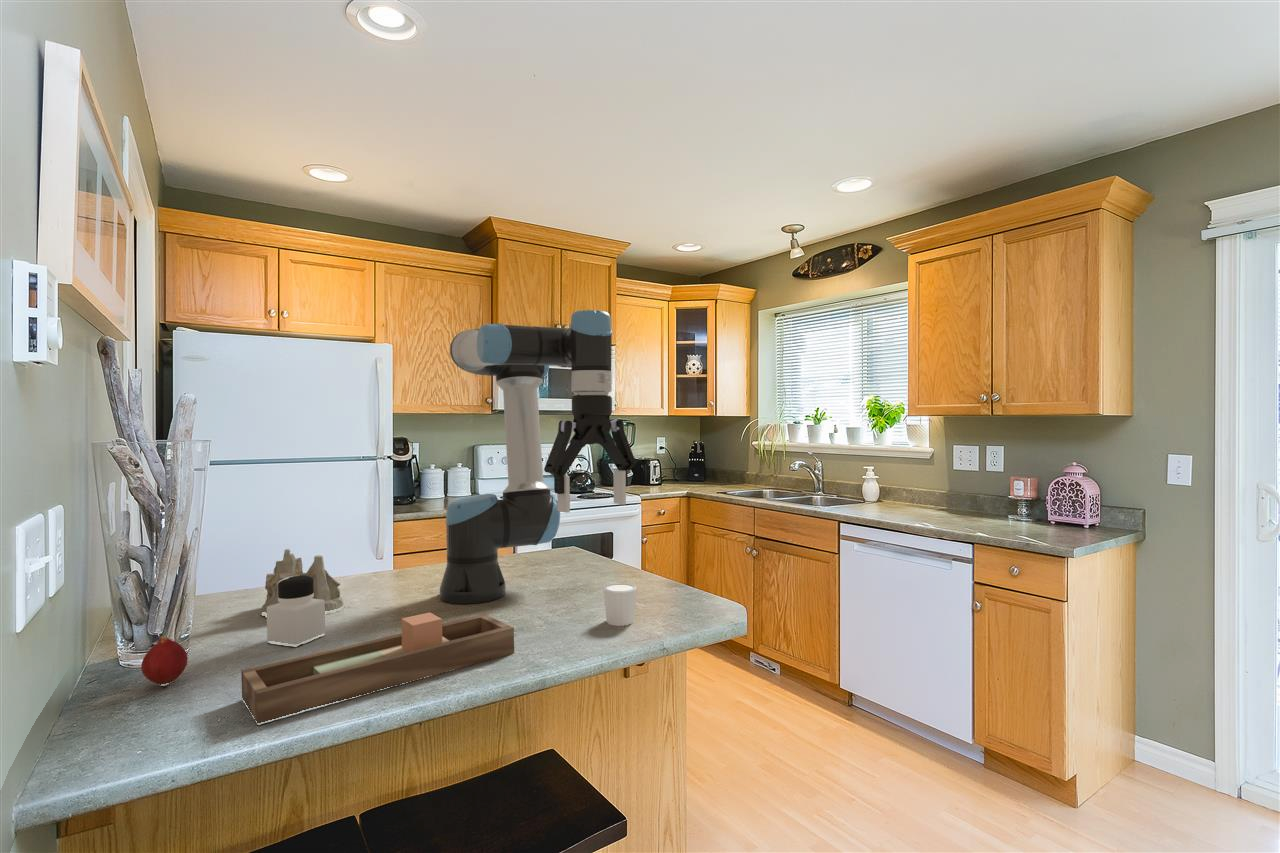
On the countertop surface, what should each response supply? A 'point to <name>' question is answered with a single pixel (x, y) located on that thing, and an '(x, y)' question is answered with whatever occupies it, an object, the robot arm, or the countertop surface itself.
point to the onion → (164, 661)
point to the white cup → (620, 604)
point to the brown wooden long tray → (369, 667)
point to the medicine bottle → (295, 612)
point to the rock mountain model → (293, 567)
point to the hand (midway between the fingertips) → (592, 507)
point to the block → (421, 631)
